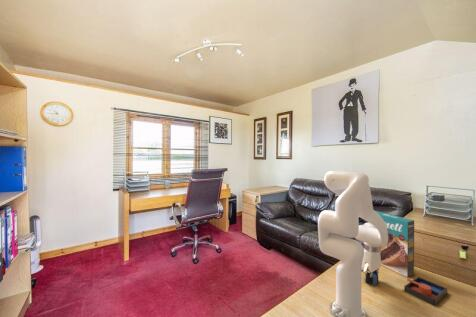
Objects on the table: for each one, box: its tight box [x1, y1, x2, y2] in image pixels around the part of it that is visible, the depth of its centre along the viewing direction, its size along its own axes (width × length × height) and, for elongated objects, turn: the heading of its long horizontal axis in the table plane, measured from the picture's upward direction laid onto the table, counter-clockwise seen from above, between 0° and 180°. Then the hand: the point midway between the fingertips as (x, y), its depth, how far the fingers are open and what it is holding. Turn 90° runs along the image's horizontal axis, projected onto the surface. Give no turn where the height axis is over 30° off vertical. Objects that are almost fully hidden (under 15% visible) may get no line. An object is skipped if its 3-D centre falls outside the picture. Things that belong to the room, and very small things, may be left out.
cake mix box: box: [367, 210, 415, 278], centre depth 123 cm, size 22×6×30 cm, turn 23°
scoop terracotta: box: [406, 278, 431, 298], centre depth 99 cm, size 4×9×4 cm, turn 30°
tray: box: [403, 276, 448, 306], centre depth 100 cm, size 15×11×2 cm
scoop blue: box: [361, 269, 378, 286], centre depth 111 cm, size 4×9×4 cm, turn 30°
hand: (371, 281), depth 109 cm, fingers closed on scoop blue, 4 cm apart
